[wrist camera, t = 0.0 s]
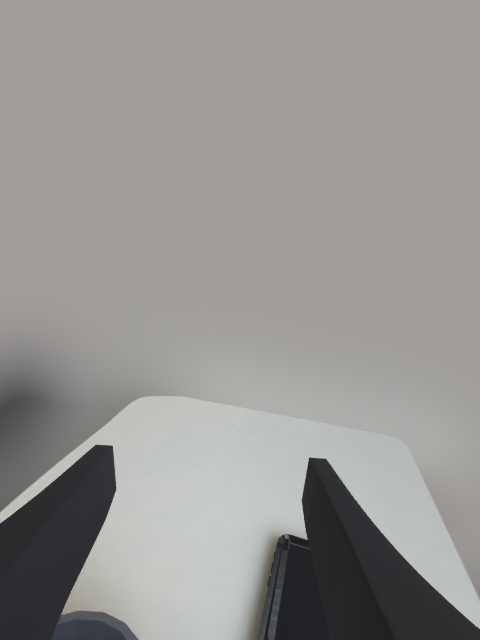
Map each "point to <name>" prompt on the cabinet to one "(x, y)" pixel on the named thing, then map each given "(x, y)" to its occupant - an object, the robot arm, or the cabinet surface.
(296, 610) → the phone
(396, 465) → the cabinet surface
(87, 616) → the holder
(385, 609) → the robot arm
